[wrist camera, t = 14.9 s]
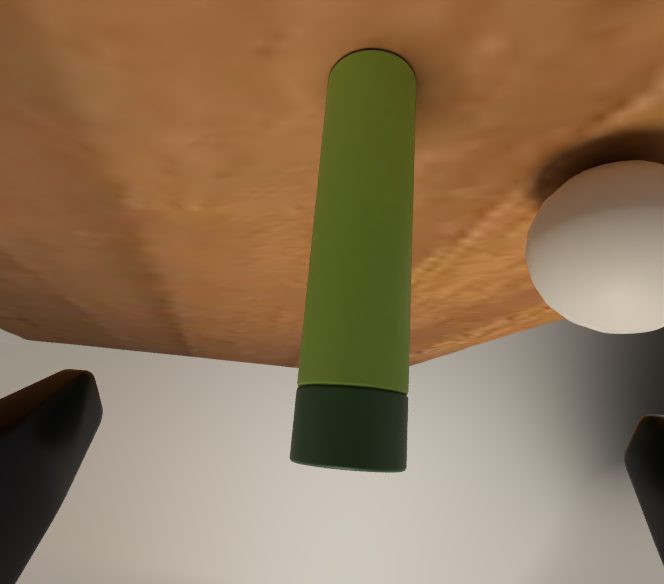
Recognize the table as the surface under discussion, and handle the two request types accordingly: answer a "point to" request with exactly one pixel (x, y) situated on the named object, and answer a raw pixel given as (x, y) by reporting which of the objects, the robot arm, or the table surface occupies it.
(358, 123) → the glue stick
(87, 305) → the table surface
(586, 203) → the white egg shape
